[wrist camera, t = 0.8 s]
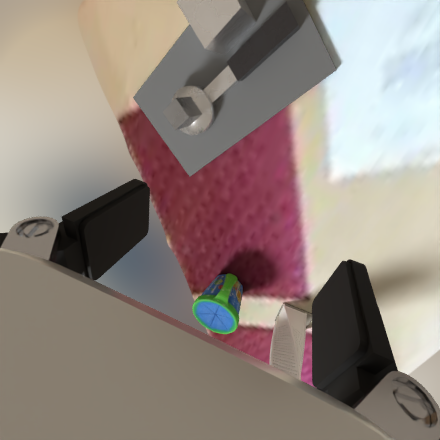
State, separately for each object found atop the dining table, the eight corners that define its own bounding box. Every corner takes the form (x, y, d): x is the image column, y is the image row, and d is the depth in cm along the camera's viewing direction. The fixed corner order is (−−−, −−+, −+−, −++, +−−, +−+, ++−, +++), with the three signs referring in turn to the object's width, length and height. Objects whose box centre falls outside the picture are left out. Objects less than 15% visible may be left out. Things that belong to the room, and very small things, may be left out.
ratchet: (279, -12, 27) (269, -37, 21) (308, 45, 28) (305, 35, 23) (170, 105, 38) (145, 108, 33) (195, 140, 40) (175, 149, 34)
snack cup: (221, 253, 52) (203, 285, 44) (261, 276, 51) (250, 312, 43) (202, 290, 61) (184, 321, 53) (235, 310, 60) (222, 345, 52)
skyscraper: (269, 317, 57) (237, 468, 34) (279, 297, 52) (248, 455, 30) (303, 331, 55) (291, 500, 33) (315, 311, 50) (312, 492, 28)
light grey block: (233, -22, 28) (211, -48, 22) (256, 22, 29) (241, 7, 23) (202, 17, 31) (176, 2, 25) (224, 54, 32) (204, 48, 26)
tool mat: (267, -72, 25) (266, -76, 25) (335, 70, 29) (336, 69, 28) (136, 97, 41) (133, 97, 40) (191, 175, 45) (189, 176, 44)
